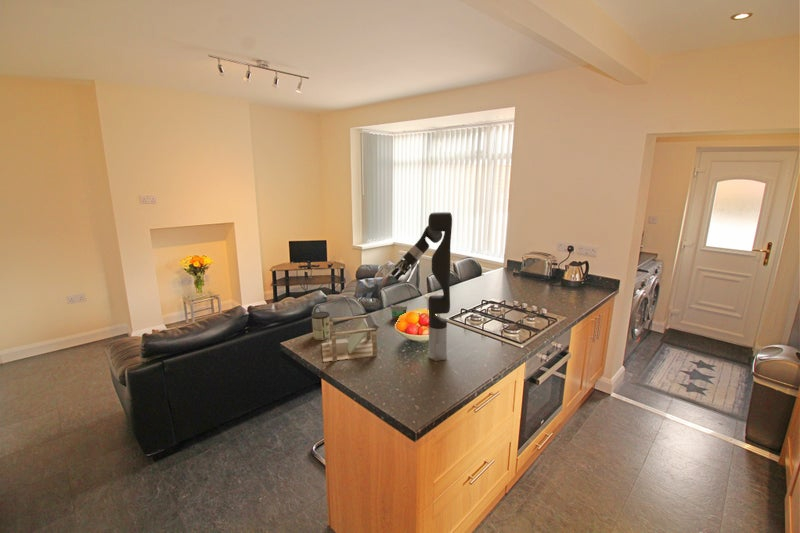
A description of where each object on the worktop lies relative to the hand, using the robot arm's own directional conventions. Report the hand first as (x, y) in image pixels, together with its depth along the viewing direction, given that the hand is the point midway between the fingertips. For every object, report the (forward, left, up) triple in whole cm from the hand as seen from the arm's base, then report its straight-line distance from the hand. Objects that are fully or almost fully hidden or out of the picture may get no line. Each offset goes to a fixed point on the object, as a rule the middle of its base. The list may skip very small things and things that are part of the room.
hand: (393, 276), depth 204 cm
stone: (-6, +28, -35) cm, 45 cm away
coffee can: (+17, +41, -38) cm, 59 cm away
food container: (+31, -9, -38) cm, 50 cm away
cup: (+31, -35, -38) cm, 60 cm away
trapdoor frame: (-6, +28, -38) cm, 47 cm away
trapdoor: (-6, +18, -31) cm, 37 cm away
